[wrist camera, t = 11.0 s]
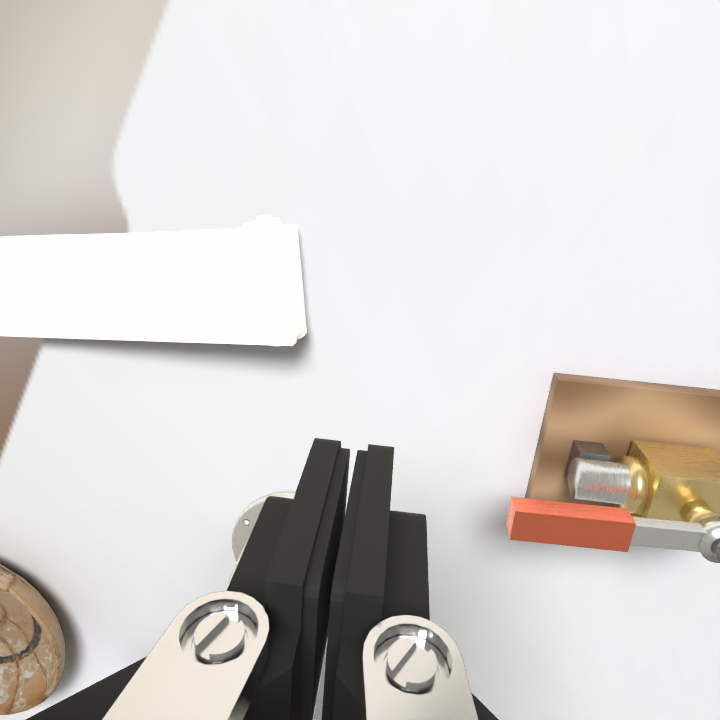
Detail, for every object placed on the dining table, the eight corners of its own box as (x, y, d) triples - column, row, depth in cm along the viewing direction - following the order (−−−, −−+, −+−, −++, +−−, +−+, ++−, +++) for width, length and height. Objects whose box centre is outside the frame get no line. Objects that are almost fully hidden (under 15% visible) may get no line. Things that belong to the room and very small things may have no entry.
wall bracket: (52, 309, 52) (321, 315, 46) (-3, 351, 46) (296, 364, 40) (3, 211, 46) (302, 201, 40) (-67, 245, 41) (269, 240, 34)
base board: (746, 538, 47) (756, 549, 46) (522, 511, 48) (525, 521, 47) (806, 398, 42) (819, 407, 41) (553, 372, 43) (558, 380, 42)
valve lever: (738, 517, 36) (759, 540, 34) (726, 549, 37) (745, 573, 35) (511, 494, 37) (517, 515, 35) (505, 526, 38) (510, 548, 36)
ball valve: (750, 505, 44) (815, 574, 37) (558, 483, 45) (585, 545, 38) (772, 453, 42) (845, 514, 35) (571, 430, 43) (603, 486, 36)
